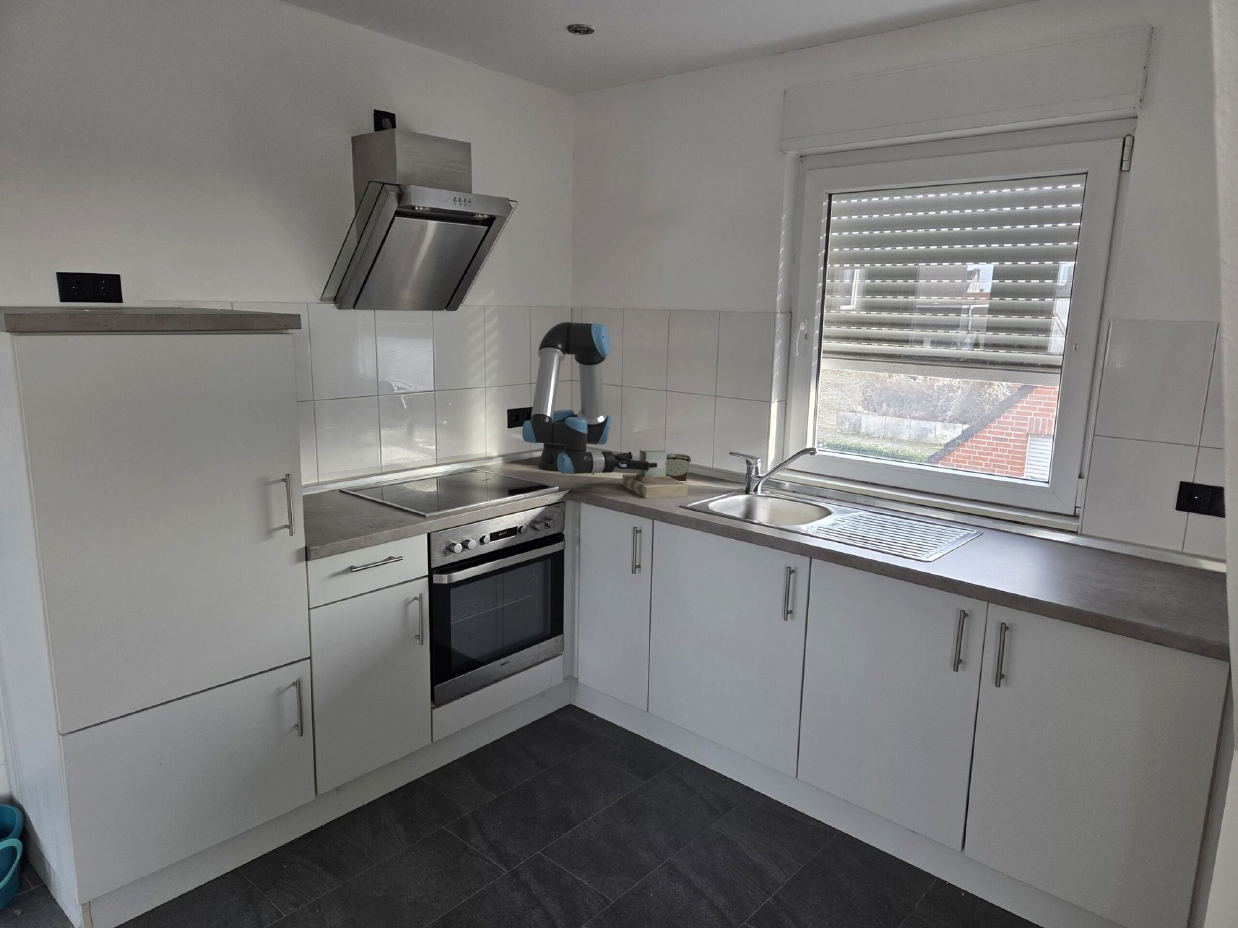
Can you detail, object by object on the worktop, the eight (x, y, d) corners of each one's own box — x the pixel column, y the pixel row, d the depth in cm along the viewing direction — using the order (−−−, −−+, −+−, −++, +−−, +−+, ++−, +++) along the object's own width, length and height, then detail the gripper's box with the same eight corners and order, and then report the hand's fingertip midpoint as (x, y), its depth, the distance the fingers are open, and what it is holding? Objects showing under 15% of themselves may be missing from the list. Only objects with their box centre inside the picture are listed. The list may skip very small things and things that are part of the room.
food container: (690, 479, 318) (691, 454, 316) (690, 482, 312) (691, 457, 310) (658, 477, 319) (660, 452, 318) (658, 480, 313) (659, 455, 311)
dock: (622, 484, 302) (622, 473, 301) (661, 483, 308) (661, 472, 307) (645, 498, 282) (646, 486, 281) (687, 496, 288) (687, 485, 288)
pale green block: (635, 478, 295) (637, 449, 293) (660, 477, 299) (662, 449, 297) (642, 481, 289) (644, 452, 288) (667, 480, 293) (669, 452, 291)
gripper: (588, 465, 297) (641, 464, 305) (614, 480, 274) (670, 478, 282) (589, 445, 296) (642, 444, 304) (615, 458, 273) (671, 456, 281)
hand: (656, 460), depth 293 cm, fingers open, 13 cm apart
